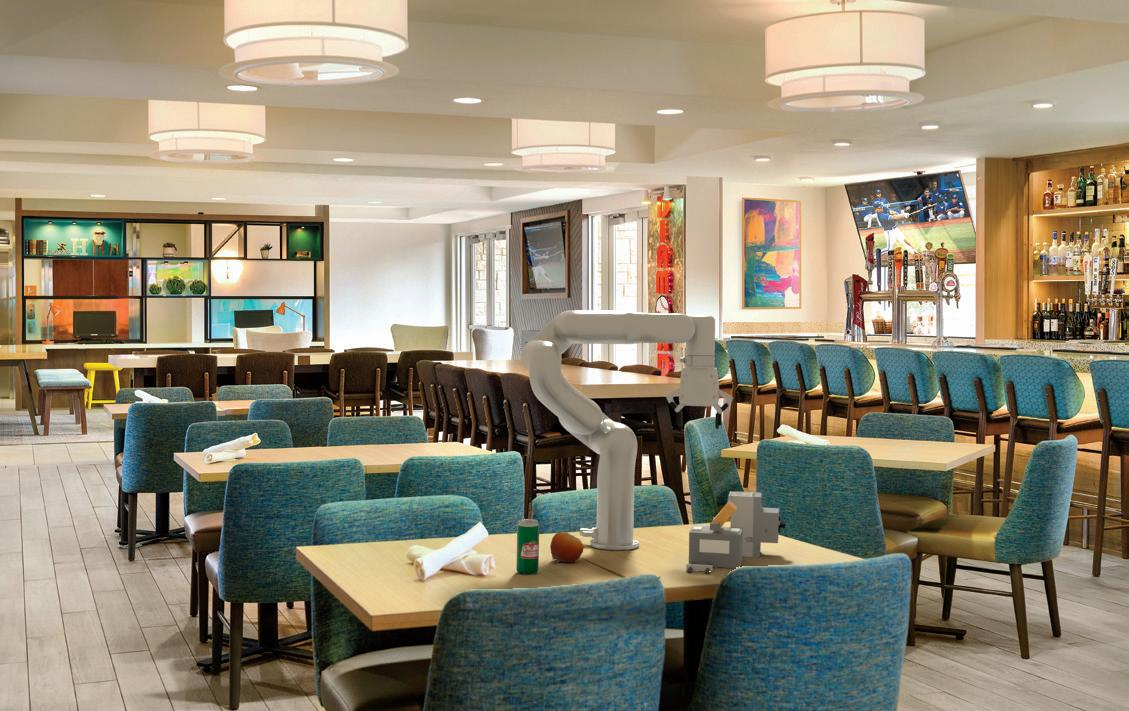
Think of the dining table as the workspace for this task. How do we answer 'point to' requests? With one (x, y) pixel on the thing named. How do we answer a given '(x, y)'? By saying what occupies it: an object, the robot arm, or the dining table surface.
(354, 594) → the dining table surface
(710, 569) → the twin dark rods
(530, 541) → the soda can
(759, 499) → the circuit breaker
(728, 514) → the lever
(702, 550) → the panel
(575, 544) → the fruit
